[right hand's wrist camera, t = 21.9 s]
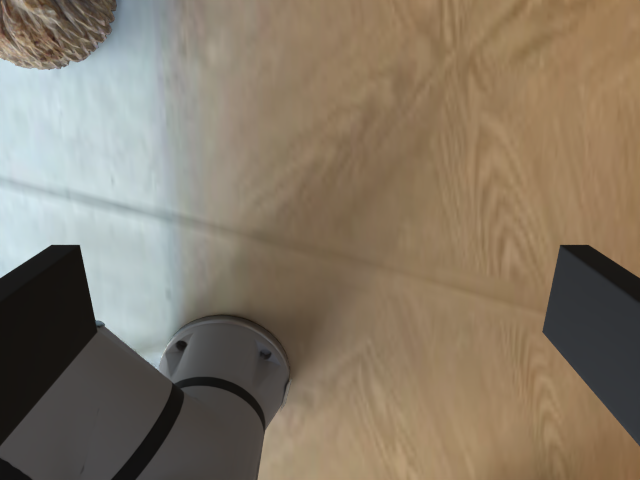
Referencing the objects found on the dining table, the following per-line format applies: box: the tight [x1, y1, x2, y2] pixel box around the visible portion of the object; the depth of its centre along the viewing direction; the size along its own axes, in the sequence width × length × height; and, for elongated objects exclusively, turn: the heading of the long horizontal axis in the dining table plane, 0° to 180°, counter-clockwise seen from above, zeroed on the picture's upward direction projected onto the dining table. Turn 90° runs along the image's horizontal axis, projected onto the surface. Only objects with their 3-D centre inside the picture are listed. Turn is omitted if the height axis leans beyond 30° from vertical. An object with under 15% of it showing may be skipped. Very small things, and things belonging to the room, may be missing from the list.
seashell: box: [0, 0, 117, 70], centre depth 37 cm, size 14×10×10 cm
